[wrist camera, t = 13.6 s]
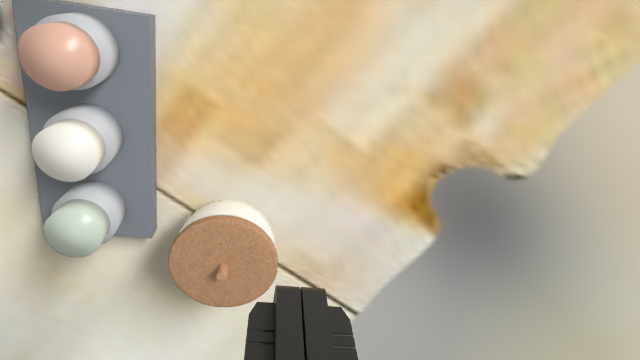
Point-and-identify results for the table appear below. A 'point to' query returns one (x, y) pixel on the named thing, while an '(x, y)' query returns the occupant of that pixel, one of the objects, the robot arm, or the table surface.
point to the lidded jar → (224, 254)
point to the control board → (114, 98)
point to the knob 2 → (77, 228)
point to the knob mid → (68, 150)
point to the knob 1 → (58, 55)
